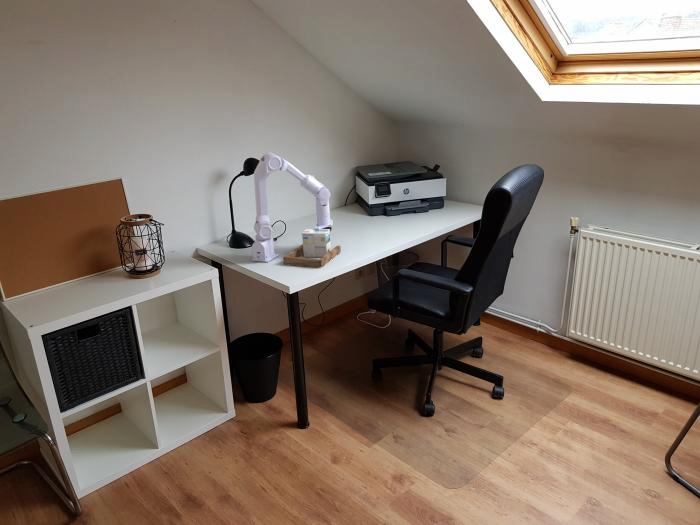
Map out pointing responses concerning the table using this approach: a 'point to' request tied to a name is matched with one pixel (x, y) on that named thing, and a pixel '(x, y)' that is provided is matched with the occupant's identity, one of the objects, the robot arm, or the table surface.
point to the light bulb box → (316, 242)
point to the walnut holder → (296, 260)
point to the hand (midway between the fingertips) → (325, 243)
